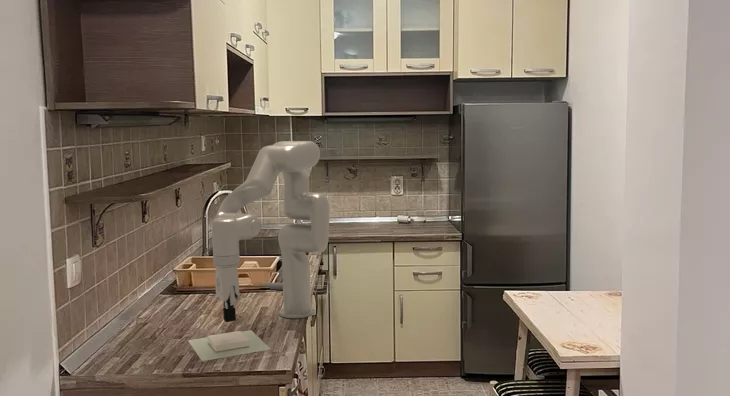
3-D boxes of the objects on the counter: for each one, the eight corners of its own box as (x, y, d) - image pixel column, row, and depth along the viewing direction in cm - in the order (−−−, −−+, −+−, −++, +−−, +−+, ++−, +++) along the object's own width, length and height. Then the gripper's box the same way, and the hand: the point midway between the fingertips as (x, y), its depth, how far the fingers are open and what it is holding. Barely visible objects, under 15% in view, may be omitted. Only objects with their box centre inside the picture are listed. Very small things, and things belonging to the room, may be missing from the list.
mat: (187, 342, 201) (187, 340, 201) (251, 332, 209) (251, 330, 209) (202, 363, 183) (201, 361, 183) (270, 351, 192) (270, 349, 191)
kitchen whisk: (259, 286, 269) (258, 271, 268) (335, 293, 256) (334, 277, 256) (251, 290, 263) (251, 275, 262) (328, 297, 251) (328, 281, 250)
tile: (207, 335, 198) (215, 345, 189) (240, 330, 202) (249, 340, 193) (207, 342, 198) (215, 352, 189) (240, 337, 203) (249, 347, 194)
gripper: (207, 256, 196) (211, 316, 199) (220, 266, 183) (223, 330, 185) (232, 253, 200) (235, 312, 202) (246, 263, 186) (249, 325, 189)
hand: (229, 320), depth 194 cm, fingers closed
